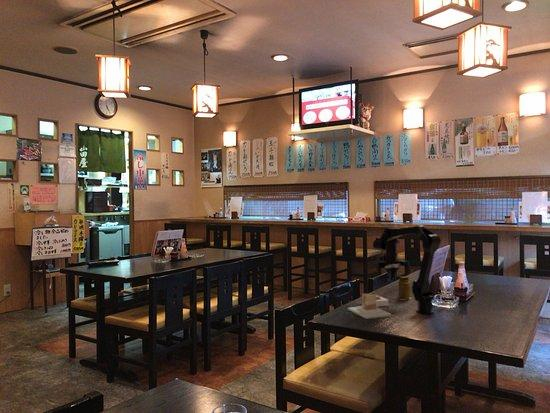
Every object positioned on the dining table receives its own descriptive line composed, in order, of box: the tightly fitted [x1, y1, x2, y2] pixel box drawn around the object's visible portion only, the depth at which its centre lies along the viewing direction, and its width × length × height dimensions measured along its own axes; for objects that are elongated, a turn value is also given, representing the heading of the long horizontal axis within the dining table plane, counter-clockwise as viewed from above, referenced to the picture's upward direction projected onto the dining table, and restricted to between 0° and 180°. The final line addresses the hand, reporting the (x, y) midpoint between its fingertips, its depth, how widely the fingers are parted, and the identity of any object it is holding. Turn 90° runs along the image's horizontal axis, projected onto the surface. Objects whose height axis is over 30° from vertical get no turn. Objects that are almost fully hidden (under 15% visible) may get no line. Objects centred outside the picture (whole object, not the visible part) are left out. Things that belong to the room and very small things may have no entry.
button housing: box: [376, 296, 390, 308], centre depth 233 cm, size 10×10×3 cm
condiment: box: [392, 275, 413, 301], centre depth 246 cm, size 7×8×12 cm
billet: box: [361, 292, 377, 310], centre depth 216 cm, size 5×5×8 cm
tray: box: [347, 305, 392, 320], centre depth 216 cm, size 18×14×2 cm
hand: (391, 280), depth 232 cm, fingers closed
